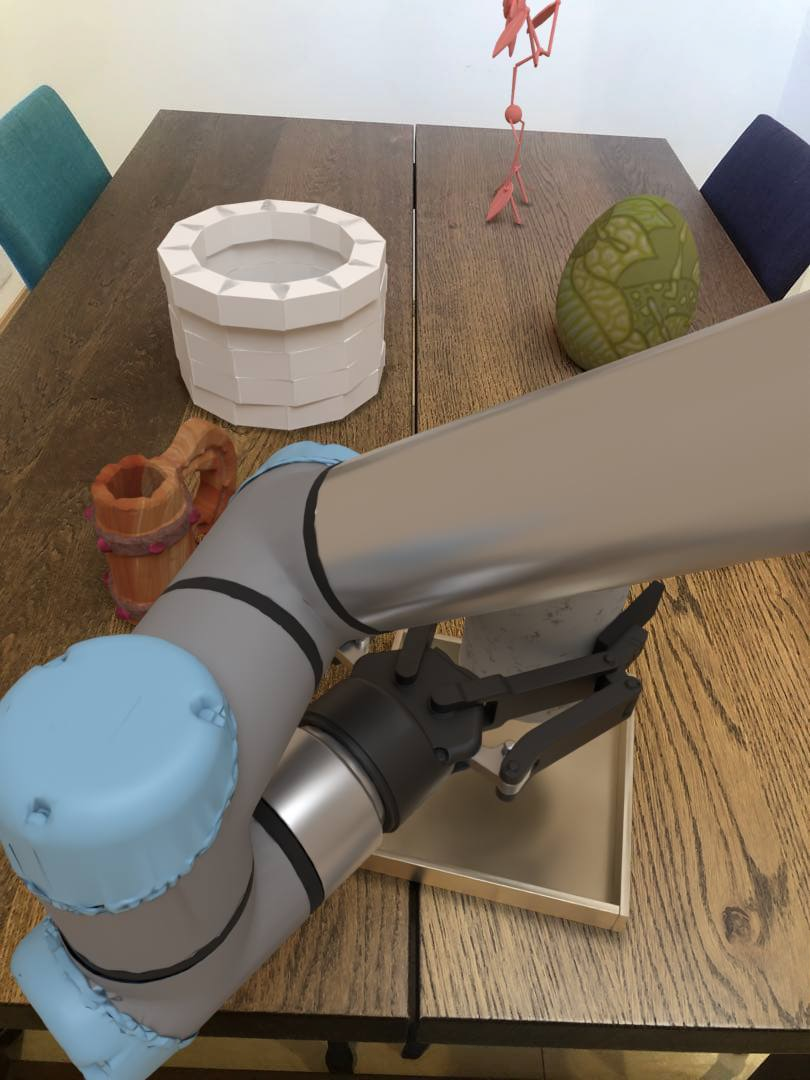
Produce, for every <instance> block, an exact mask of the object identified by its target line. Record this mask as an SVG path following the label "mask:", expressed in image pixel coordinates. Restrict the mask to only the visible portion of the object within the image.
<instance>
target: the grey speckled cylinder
mask: <svg viewBox="0 0 810 1080" xmlns="http://www.w3.org/2000/svg"><path fill="white" fill-rule="evenodd" d="M631 587H632V585H630V586H625V587H620V588H614V589H609V590H604V591H599V592H594V593H589V594H583V595H578V596H573V597H568V598H563V599H557V600H552V601H547V602H542V603H537V604H532V605H526V606H521V607H516V608H511V609H506V610H500V611H495V612H490V613H485V614H480V615H475V616H469V617H464V625H463V631H462V636H461V638H462V642H461V646H460V650H459V666H462V667H464V668H466V669H468V670H470V671H471V672H473V673H474V674H475V675H477V676H478V677H479V678H483V677H487V676H491V675H495V674H501V675H502V676H503V677H508V676H511V675H515V674H519V673H523V672H527V671H531V670H534V669H538V668H542V667H546V666H550V665H554V664H557V663H561V662H565V661H569V660H573V659H577V658H580V657H584V656H588V655H592V652H593V648H594V645H595V642H596V639H597V638H598V637H599V636H600V635H601V634H602V633H603V631H604V630H605V629H606V628H607V627H608V626H609V625H610V624H611V623H612V622H613V621H614V620H615V619H616V618H617V617H618V616H619V615H620V614H621V613H622V612H623V611H624V608H625V604H626V602H627V599H628V595H629V593H630V590H631ZM581 701H582V700H580V701H577V702H573V703H570V704H566V705H562V706H559V707H555V708H551V709H548V710H544V711H541V712H537V713H533V714H530V715H526V716H523V717H519V718H515V719H513V720H517V721H521V722H525V723H544V722H545V721H547V720H549V719H551V718H552V717H554V716H556V715H558V714H559V713H561V712H563V711H565V710H567V709H568V708H570V707H572V706H574V705H575V704H577V703H579V702H581ZM485 703H486V702H485ZM485 703H484V705H485Z"/></svg>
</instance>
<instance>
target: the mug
mask: <svg viewBox="0 0 810 1080" xmlns="http://www.w3.org/2000/svg"><path fill="white" fill-rule="evenodd" d="M237 459H238V455H237V452H236V447H235V445H234V443H233V441H232V439H231V437H230V436H229V434H228V433H227V432H226V431H224V429H222V428H221V427H219V426H218V425H216V424H213V423H212V422H210V421H208V420H205V419H203V418H200V417H190V418H188V419H187V420H186V421H184V422H183V423H182V424H181V426H179V429H178V430H177V432H176V434H175V436H174V438H173V440H172V442H171V444H170V446H169V447H167V448H166V450H165V451H164V452H162V454H161V455H159V456H153V457H151V458H146V457H145V455H142V454H139V453H138V454H132V455H131V454H130V455H126V456H124V457H122V458H120V460H119V461H118V463H108V464H106V465H105V466H104V467H102V468H101V469H100V471H99V474H97V475H96V476H95V478H94V479H95V481H94V482H92V484H91V487H90V494H91V499H92V502H93V504H91V505H89V506H88V507H87V508H86V509H85V510H84V513H83V514H84V516H85V517H86V518H87V519H88V520H89V522H90V525H91V528H92V531H93V535H94V537H95V539H96V541H97V545H96V546H97V548H98V550H99V551H100V552H101V553H102V554H104V556H105V559H106V560H107V563H108V566H109V569H108V570H107V571H106V570H105V571H104V573H103V575H102V580H103V583H104V584H105V585H106V586H108V591H109V594H110V596H111V599H112V601H113V604H114V605H115V607H116V608H115V616H116V618H117V619H120V620H122V621H126V622H128V623H129V624H130V625H134V626H135V627H136V626H137V625H138V623H139V622H140V621H141V620H142V618H143V617H144V616H145V614H146V613H147V612H148V611H149V609H150V608H151V607H152V605H153V604H154V603H155V602H156V600H157V599H158V598H159V597H160V596H161V594H162V593H163V592H164V590H166V588H167V587H168V585H169V584H170V583H171V581H172V580H173V579H174V577H175V576H176V575H177V573H178V572H179V571H180V569H181V568H182V567H183V565H184V564H185V563H186V561H187V560H188V559H189V557H190V556H191V555H192V553H193V552H194V551H195V549H196V548H197V547H198V545H199V544H200V543H201V542H199V541H198V540H196V539H195V537H196V536H199V535H206V534H207V533H208V532H209V530H210V529H211V528H212V526H213V525H214V524H215V522H216V521H217V520H218V518H219V517H220V516H221V514H222V513H223V512H224V510H225V509H226V507H227V505H228V503H229V500H230V499H231V497H232V496H233V495H234V494H235V493H236V488H237V477H238V460H237ZM196 472H199V483H198V486H197V490H196V494H195V497H194V499H193V496H192V493H191V492H190V490H189V489H188V487H187V485H186V483H185V482H184V481H185V480H186V479H187V478H188V477H189V476H191V475H192V474H194V473H196Z"/></svg>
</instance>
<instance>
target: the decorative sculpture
mask: <svg viewBox="0 0 810 1080" xmlns="http://www.w3.org/2000/svg"><path fill="white" fill-rule="evenodd" d="M700 288H701V267H700V258H699V252H698V249H697V244H696V240H695V238H694V235H693V232H692V231H691V228H690V226H689V224H688V222H687V221H686V219H685V217H684V216H683V214H682V213H681V212H680V211H679V209H678V208H677V207H676V206H675V205H674V204H673V203H672V202H671V201H669V200H667V199H666V198H663V197H662V196H659V195H657V194H650V193H641V194H636V195H631V196H629V197H626V198H625V199H622V200H620V201H618V202H617V203H615V204H613V205H612V206H610V207H609V208H608V209H607V210H605V211H603V213H601V214H600V215H599V216H598V217H597V218H596V219H595V220H594V221H592V223H591V224H590V225H589V226H588V227H587V229H586V230H585V231H584V233H583V234H582V235H581V236H580V237H579V239H578V241H577V242H576V243H575V246H574V247H573V249H572V250H571V252H570V254H569V257H568V259H567V261H566V263H565V265H564V268H563V270H562V273H561V276H560V280H559V283H558V289H557V293H556V299H555V319H556V320H555V321H556V327H557V332H558V335H559V338H560V341H561V344H562V346H563V348H564V350H565V352H566V354H567V355H568V357H569V358H570V359H571V361H573V362H574V363H575V365H577V366H578V367H579V368H581V369H583V370H585V371H586V372H587V371H590V370H592V369H595V368H598V367H600V366H603V365H606V364H609V363H611V362H614V361H617V360H619V359H622V358H625V357H628V356H630V355H633V354H636V353H639V352H641V351H644V350H647V349H649V348H652V347H655V346H658V345H660V344H663V343H666V342H668V341H671V340H674V339H677V338H679V337H682V336H685V335H688V331H689V330H690V328H691V325H692V323H693V320H694V317H695V314H696V311H697V307H698V303H699V296H700Z"/></svg>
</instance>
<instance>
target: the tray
mask: <svg viewBox="0 0 810 1080" xmlns="http://www.w3.org/2000/svg"><path fill="white" fill-rule="evenodd" d="M407 631H408V628H407V629H402V630H397V631H395V635H394V638H393V640H392V644H391V647H390V650H398V649H402V646H403V643H404V640H405V637H406V634H407ZM461 642H462V637H458V636H453V635H449V634H443V633H438V632H435V635H434V639H433V642H432V646H431V648H432V649H434V648H435V647H436V646H437V647H438V648H440V649H441V650H443V651H444V652H445V653H447V654H448V656H449V657H450V658H451V659H452V660H453V662H454V663H455V664H457V665H459V650H460V646H461ZM625 672H626V671H625ZM626 673H627V674H628V676H633V677H636V678H637V674H636V673H632V672H628V671H627V672H626ZM311 703H312V702H310V703H309V705H310V704H311ZM309 705H308V706H309ZM635 717H636V707H635V708H634V710H633V712H632V715H631V716H630V717H629V718H628V719H626V720H625V721H623V722H621V723H620V724H618V725H616V726H615V727H613V728H611V729H610V730H608V731H606V732H605V733H603V734H601V735H600V736H598V737H596V738H595V739H593V740H591V741H590V742H588V743H586V744H585V745H583V746H581V747H580V748H578V749H576V750H575V751H573V752H572V753H570V754H568V755H567V756H565V757H563V758H562V759H560V760H558V761H557V762H555V763H553V764H552V765H550V766H548V767H547V768H545V769H543V770H542V771H540V772H538V773H537V774H535V775H533V777H532V778H531V779H530V781H529V782H528V783H527V785H526V786H525V788H524V789H523V790H522V792H521V793H520V794H519V796H518V797H517V798H516V799H515V800H514V801H512V802H504V801H501V800H500V799H499V798H498V797H497V796H496V793H495V787H496V785H495V784H494V783H492V782H491V781H489V780H488V779H486V778H485V777H483V776H482V775H480V774H479V773H477V772H476V771H474V770H473V769H471V768H470V769H468V770H466V771H462V772H458V773H456V774H453V775H452V776H450V777H448V778H447V779H446V780H445V781H444V782H443V783H442V784H441V786H440V787H439V788H438V789H437V790H436V791H435V792H434V793H433V794H432V795H431V796H430V797H429V798H428V799H427V800H426V801H425V802H424V803H423V804H422V805H421V806H420V807H419V808H418V809H417V810H416V811H415V812H414V813H413V814H412V815H411V816H410V817H409V818H408V819H407V820H406V821H405V822H404V823H403V824H402V825H401V826H400V827H399V828H398V829H397V830H396V831H395V832H393V833H384V834H382V835H383V839H382V843H381V845H380V846H379V847H378V848H377V849H376V850H375V851H374V852H373V853H372V854H371V855H370V856H369V857H368V858H367V859H366V860H365V861H364V862H363V863H362V864H361V865H360V866H359V867H358V868H357V869H362V870H366V871H371V872H373V873H374V872H375V873H378V874H382V875H387V876H390V877H394V878H398V879H403V880H407V881H410V882H415V883H419V884H422V885H427V886H431V887H434V888H438V889H443V890H445V891H446V890H447V891H451V892H455V893H459V894H462V895H467V896H471V897H474V898H475V897H476V898H479V899H483V900H487V901H491V902H495V903H498V904H499V903H500V904H504V905H507V906H511V907H515V908H520V909H523V910H527V911H531V912H536V913H539V914H544V915H549V916H552V917H556V918H559V919H564V920H568V921H572V922H576V923H580V924H585V925H588V926H592V927H596V928H600V929H604V930H608V931H612V932H616V933H621V932H622V930H623V929H624V926H626V923H627V921H629V918H630V903H631V902H630V901H631V869H632V868H631V867H632V865H631V864H632V834H633V833H632V832H633V831H632V830H633V828H632V827H633V824H632V823H633V793H634V758H635V757H634V756H635V753H634V752H635V723H636V722H635V721H636V718H635ZM540 724H542V723H525V722H521V721H517V720H513V719H512V720H509V721H507V722H506V723H505V724H504V725H503V726H501V727H499V728H497V729H493V730H489V731H486V732H483V733H482V745H483V746H485V747H489V748H493V747H497V746H498V745H499V744H501V743H503V742H505V741H506V740H513V741H514V742H515V744H516V743H517V741H518V740H519V739H520V738H521V737H522V736H523V735H525V734H526V733H527V732H529V731H530V730H532V729H533V728H535V727H537V726H538V725H540Z"/></svg>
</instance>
